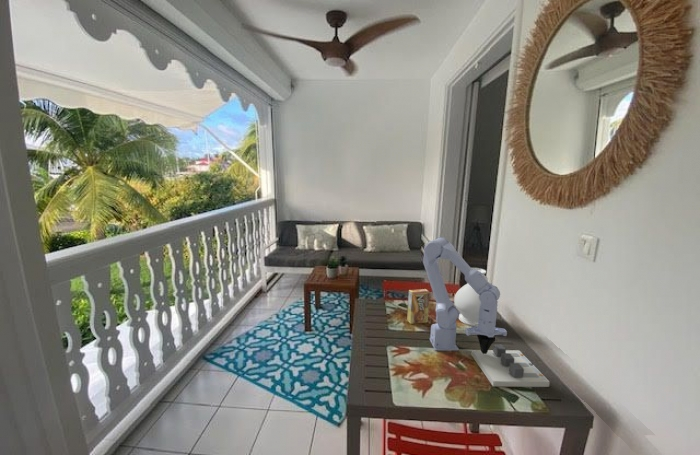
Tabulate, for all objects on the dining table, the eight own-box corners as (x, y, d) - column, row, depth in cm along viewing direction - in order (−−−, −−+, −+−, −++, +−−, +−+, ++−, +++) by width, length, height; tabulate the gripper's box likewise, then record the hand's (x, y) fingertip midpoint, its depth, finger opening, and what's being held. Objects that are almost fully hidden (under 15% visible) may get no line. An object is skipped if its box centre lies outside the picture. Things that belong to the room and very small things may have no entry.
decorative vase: (486, 312, 144) (491, 265, 140) (498, 331, 127) (504, 278, 122) (449, 309, 147) (453, 263, 142) (456, 327, 130) (461, 275, 125)
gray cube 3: (513, 377, 95) (514, 369, 94) (508, 371, 98) (509, 363, 97) (522, 377, 95) (524, 369, 94) (517, 371, 98) (518, 363, 97)
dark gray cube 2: (505, 366, 100) (505, 358, 100) (500, 360, 103) (501, 353, 103) (513, 366, 100) (514, 358, 100) (508, 360, 103) (509, 353, 103)
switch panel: (493, 386, 94) (493, 380, 93) (471, 354, 110) (471, 349, 110) (548, 386, 94) (549, 381, 93) (518, 354, 110) (519, 349, 110)
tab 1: (497, 356, 106) (497, 349, 105) (493, 351, 108) (493, 344, 108) (505, 356, 106) (506, 349, 105) (500, 351, 108) (501, 344, 108)
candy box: (423, 318, 138) (425, 288, 135) (428, 322, 134) (430, 291, 131) (406, 320, 136) (408, 289, 133) (410, 324, 132) (412, 293, 129)
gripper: (472, 324, 100) (468, 358, 103) (513, 324, 100) (508, 359, 103) (464, 314, 107) (461, 347, 110) (502, 314, 107) (498, 347, 110)
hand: (483, 352), depth 107 cm, fingers closed
